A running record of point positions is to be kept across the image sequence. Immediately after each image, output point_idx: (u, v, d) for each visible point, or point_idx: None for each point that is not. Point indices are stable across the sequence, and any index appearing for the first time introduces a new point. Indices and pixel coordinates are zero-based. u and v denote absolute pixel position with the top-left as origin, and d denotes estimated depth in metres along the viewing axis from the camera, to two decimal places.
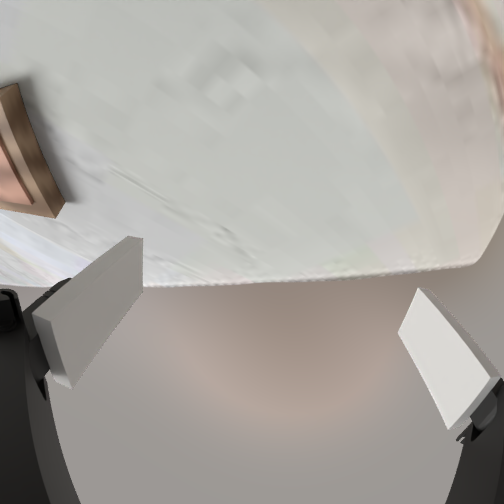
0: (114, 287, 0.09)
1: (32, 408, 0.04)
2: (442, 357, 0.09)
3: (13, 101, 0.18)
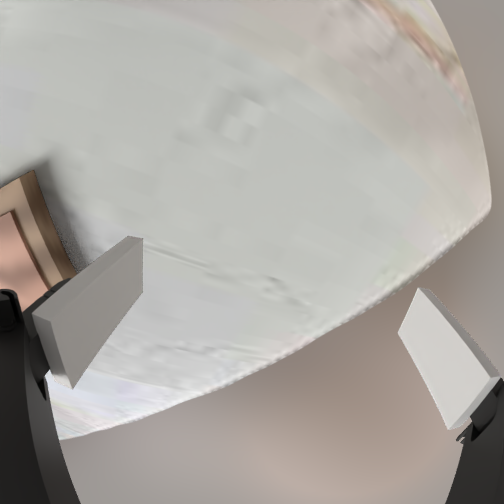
0: (114, 287, 0.09)
1: (32, 408, 0.04)
2: (442, 357, 0.09)
3: (32, 186, 0.23)
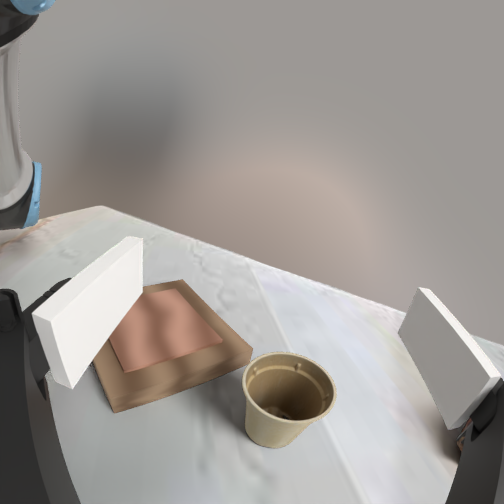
0: (114, 287, 0.09)
1: (32, 408, 0.04)
2: (442, 357, 0.09)
3: None
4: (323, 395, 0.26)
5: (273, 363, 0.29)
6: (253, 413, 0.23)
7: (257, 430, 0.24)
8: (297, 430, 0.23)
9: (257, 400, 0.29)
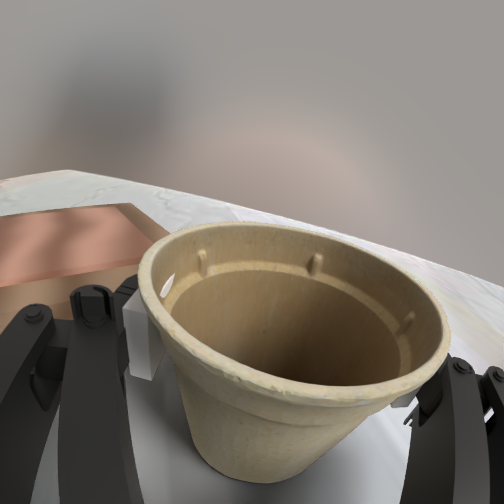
0: None
1: (118, 409, 0.05)
2: None
3: None
4: (394, 324, 0.09)
5: (254, 254, 0.12)
6: (181, 373, 0.07)
7: (208, 438, 0.07)
8: (340, 434, 0.06)
9: None
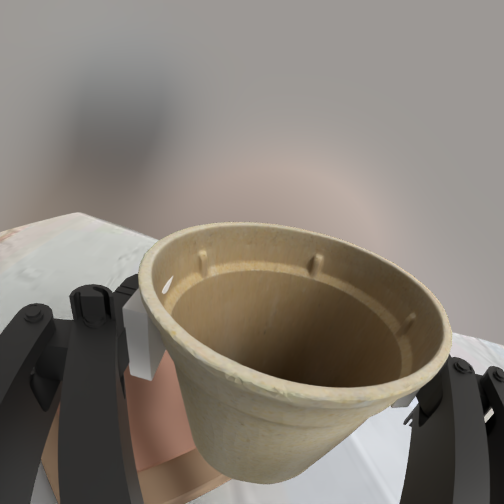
0: None
1: (118, 409, 0.05)
2: None
3: None
4: (395, 324, 0.09)
5: (255, 254, 0.12)
6: (182, 374, 0.07)
7: (209, 439, 0.07)
8: (341, 435, 0.06)
9: None
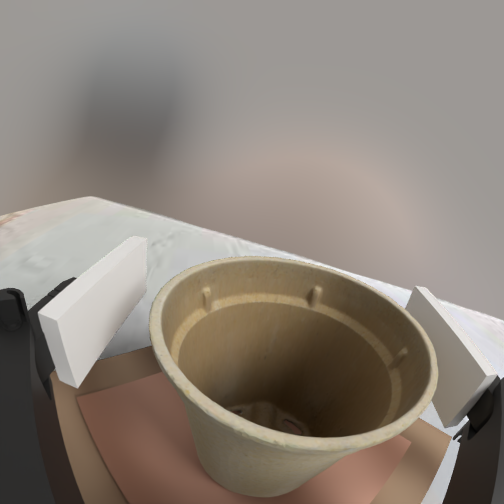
0: (119, 286, 0.09)
1: (37, 408, 0.04)
2: (438, 355, 0.09)
3: None
4: (388, 357, 0.10)
5: (256, 286, 0.13)
6: (191, 411, 0.07)
7: (215, 461, 0.08)
8: (333, 461, 0.07)
9: (224, 385, 0.13)
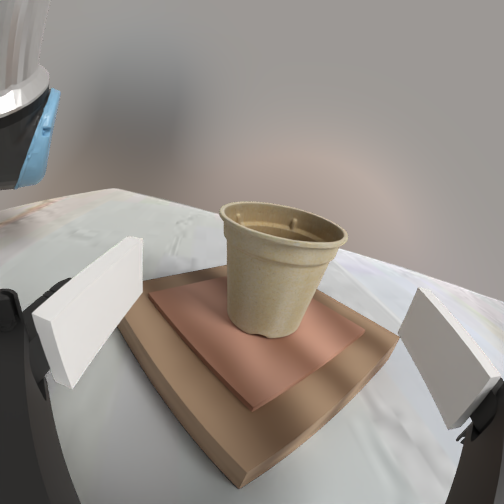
0: (114, 287, 0.09)
1: (32, 408, 0.04)
2: (442, 357, 0.09)
3: None
4: None
5: (262, 218, 0.24)
6: (235, 255, 0.19)
7: (242, 294, 0.20)
8: (300, 283, 0.18)
9: None
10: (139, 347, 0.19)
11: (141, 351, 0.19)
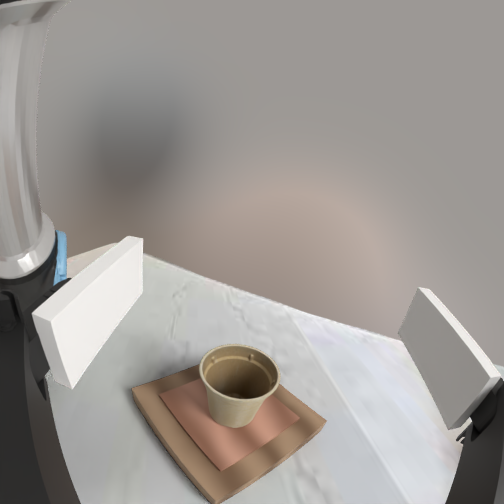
0: (114, 287, 0.09)
1: (32, 408, 0.04)
2: (442, 357, 0.09)
3: None
4: (271, 381, 0.32)
5: (230, 353, 0.35)
6: (209, 393, 0.29)
7: (215, 409, 0.30)
8: (247, 410, 0.29)
9: (219, 386, 0.35)
10: (158, 432, 0.29)
11: (159, 434, 0.29)
